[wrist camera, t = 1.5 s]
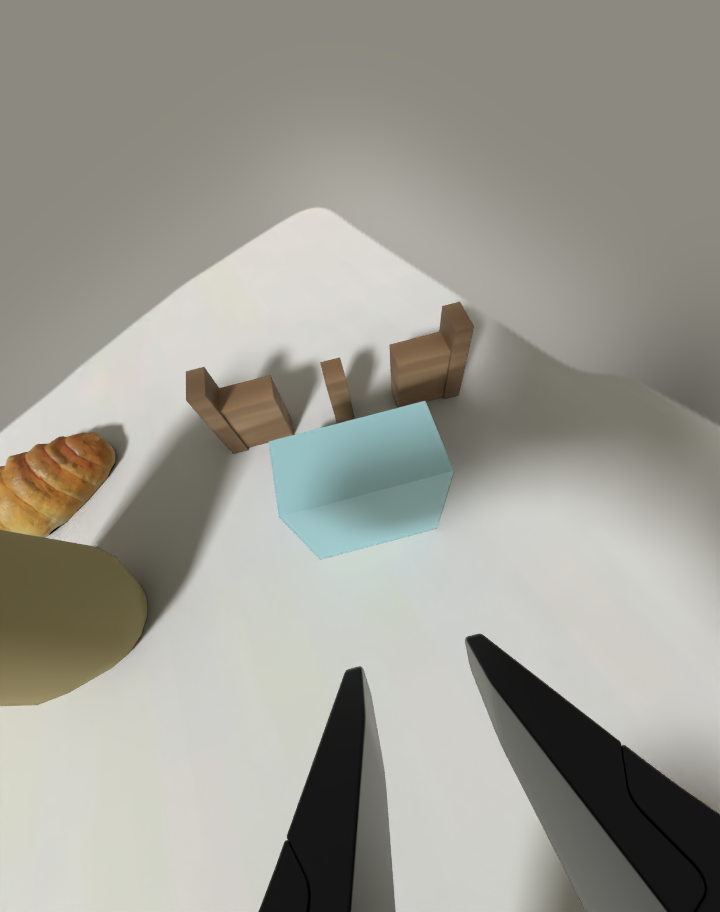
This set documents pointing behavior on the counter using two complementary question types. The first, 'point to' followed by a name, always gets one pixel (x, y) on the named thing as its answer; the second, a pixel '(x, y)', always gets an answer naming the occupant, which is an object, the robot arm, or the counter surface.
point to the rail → (334, 385)
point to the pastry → (52, 482)
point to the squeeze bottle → (62, 616)
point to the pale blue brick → (362, 480)
